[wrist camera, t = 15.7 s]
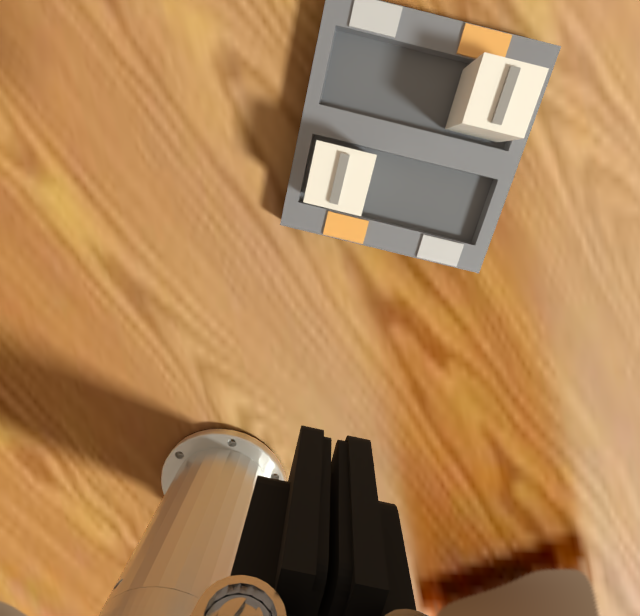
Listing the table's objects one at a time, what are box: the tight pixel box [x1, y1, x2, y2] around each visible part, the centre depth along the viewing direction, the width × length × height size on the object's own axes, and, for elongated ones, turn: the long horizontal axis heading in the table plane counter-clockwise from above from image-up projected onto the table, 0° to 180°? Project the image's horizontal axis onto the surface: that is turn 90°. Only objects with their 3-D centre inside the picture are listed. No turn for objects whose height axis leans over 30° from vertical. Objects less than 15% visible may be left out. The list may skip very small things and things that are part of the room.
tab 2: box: [303, 140, 377, 216], centre depth 31 cm, size 4×4×5 cm
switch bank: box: [280, 0, 561, 273], centre depth 32 cm, size 16×16×2 cm
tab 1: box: [445, 52, 549, 142], centre depth 29 cm, size 4×4×5 cm
